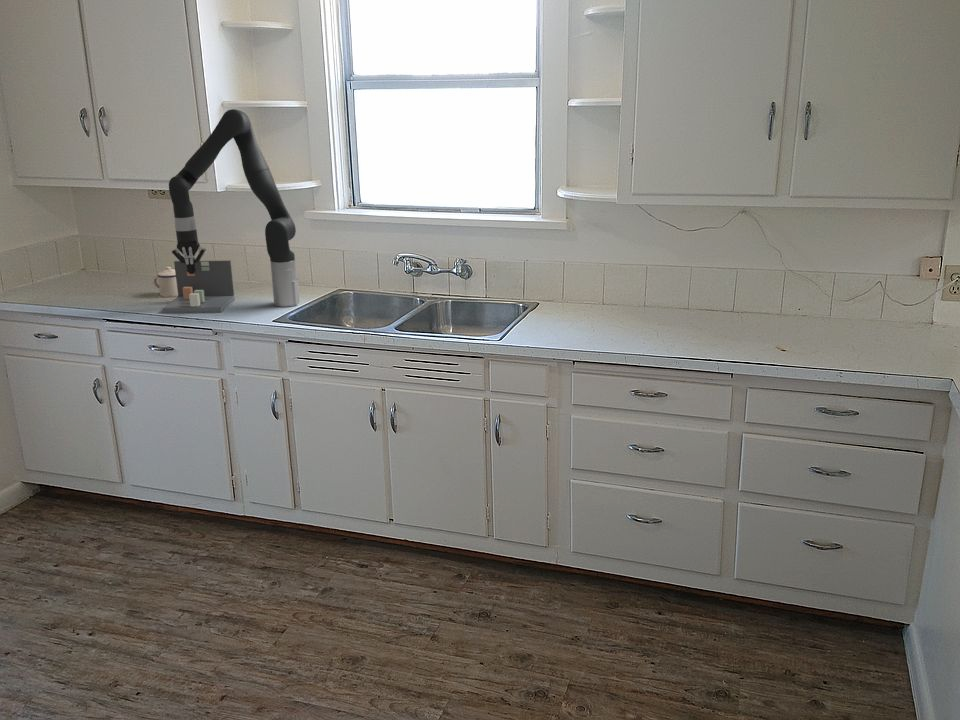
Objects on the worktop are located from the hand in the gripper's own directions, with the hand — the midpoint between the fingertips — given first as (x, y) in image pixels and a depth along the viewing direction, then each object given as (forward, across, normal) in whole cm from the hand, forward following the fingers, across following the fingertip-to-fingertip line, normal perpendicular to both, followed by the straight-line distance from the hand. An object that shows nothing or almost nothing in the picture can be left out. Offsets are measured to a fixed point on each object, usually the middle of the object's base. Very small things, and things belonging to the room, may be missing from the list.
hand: (191, 273), depth 335 cm
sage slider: (+10, -3, +5) cm, 12 cm away
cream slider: (+10, -3, +11) cm, 15 cm away
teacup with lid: (+12, +17, -18) cm, 27 cm away
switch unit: (+12, -2, +3) cm, 13 cm away
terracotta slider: (+10, +3, 0) cm, 10 cm away
